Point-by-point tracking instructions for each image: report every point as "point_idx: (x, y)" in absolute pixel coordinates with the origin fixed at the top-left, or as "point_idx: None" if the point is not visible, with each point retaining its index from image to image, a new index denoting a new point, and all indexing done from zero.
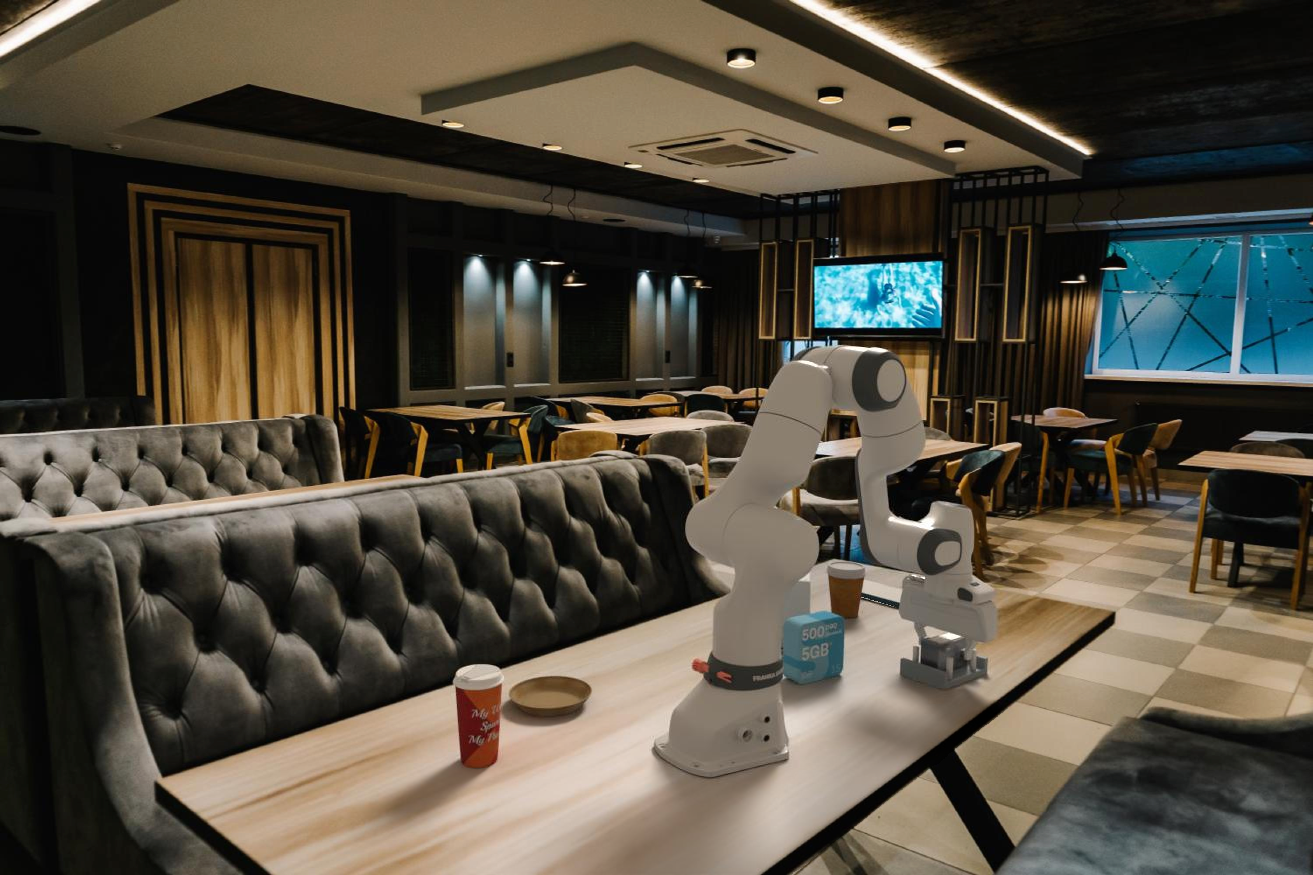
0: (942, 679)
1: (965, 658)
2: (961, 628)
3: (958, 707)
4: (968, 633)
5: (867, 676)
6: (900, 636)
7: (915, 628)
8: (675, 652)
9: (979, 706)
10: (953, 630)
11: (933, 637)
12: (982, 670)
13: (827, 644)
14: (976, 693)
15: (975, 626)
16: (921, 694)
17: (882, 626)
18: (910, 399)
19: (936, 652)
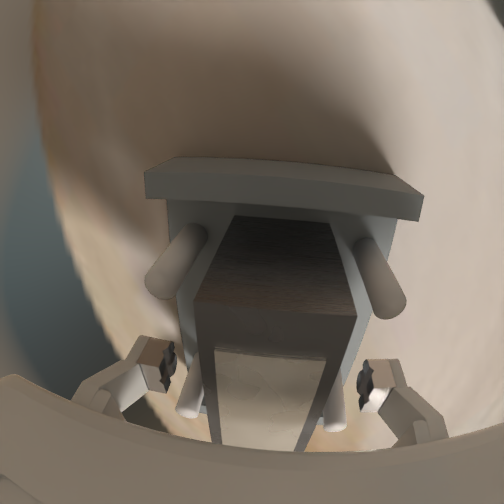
0: (167, 164)
1: (144, 337)
2: (86, 452)
3: (70, 75)
4: (53, 418)
5: (461, 68)
6: (458, 408)
7: (434, 413)
8: None
9: (47, 141)
10: (148, 447)
11: (319, 401)
12: (188, 368)
13: None
14: (104, 224)
15: (4, 440)
16: (206, 46)
17: (489, 412)
18: None
19: (223, 274)
